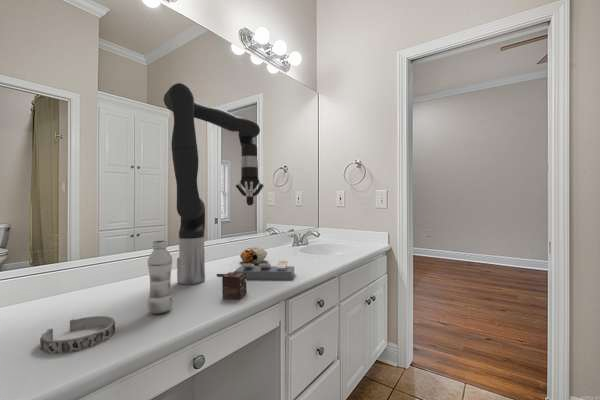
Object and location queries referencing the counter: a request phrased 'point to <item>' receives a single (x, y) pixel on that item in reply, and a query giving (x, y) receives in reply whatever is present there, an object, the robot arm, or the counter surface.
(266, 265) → the rocker middle
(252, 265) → the rocker left
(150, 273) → the plastic bottle
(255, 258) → the nautilus
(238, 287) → the box
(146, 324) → the counter surface
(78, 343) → the bracelet
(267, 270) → the power strip
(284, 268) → the rocker right
